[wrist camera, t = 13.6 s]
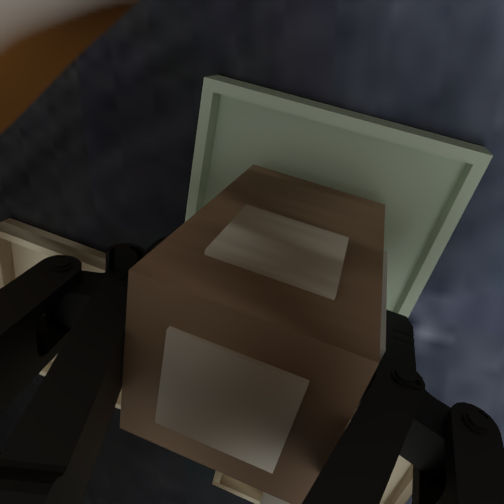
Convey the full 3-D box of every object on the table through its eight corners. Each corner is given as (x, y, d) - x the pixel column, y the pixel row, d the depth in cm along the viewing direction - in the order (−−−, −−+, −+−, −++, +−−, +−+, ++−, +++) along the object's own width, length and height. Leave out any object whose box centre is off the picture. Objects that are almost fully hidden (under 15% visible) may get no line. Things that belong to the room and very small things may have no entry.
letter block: (229, 273, 21) (116, 431, 12) (254, 161, 18) (125, 267, 9) (340, 312, 20) (302, 514, 11) (386, 201, 17) (381, 362, 8)
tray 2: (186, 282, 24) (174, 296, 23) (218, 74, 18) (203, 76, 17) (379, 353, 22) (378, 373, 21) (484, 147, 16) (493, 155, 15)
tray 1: (25, 347, 33) (9, 360, 31) (9, 217, 27) (-11, 227, 25) (156, 403, 31) (145, 420, 29) (172, 277, 25) (159, 291, 23)
